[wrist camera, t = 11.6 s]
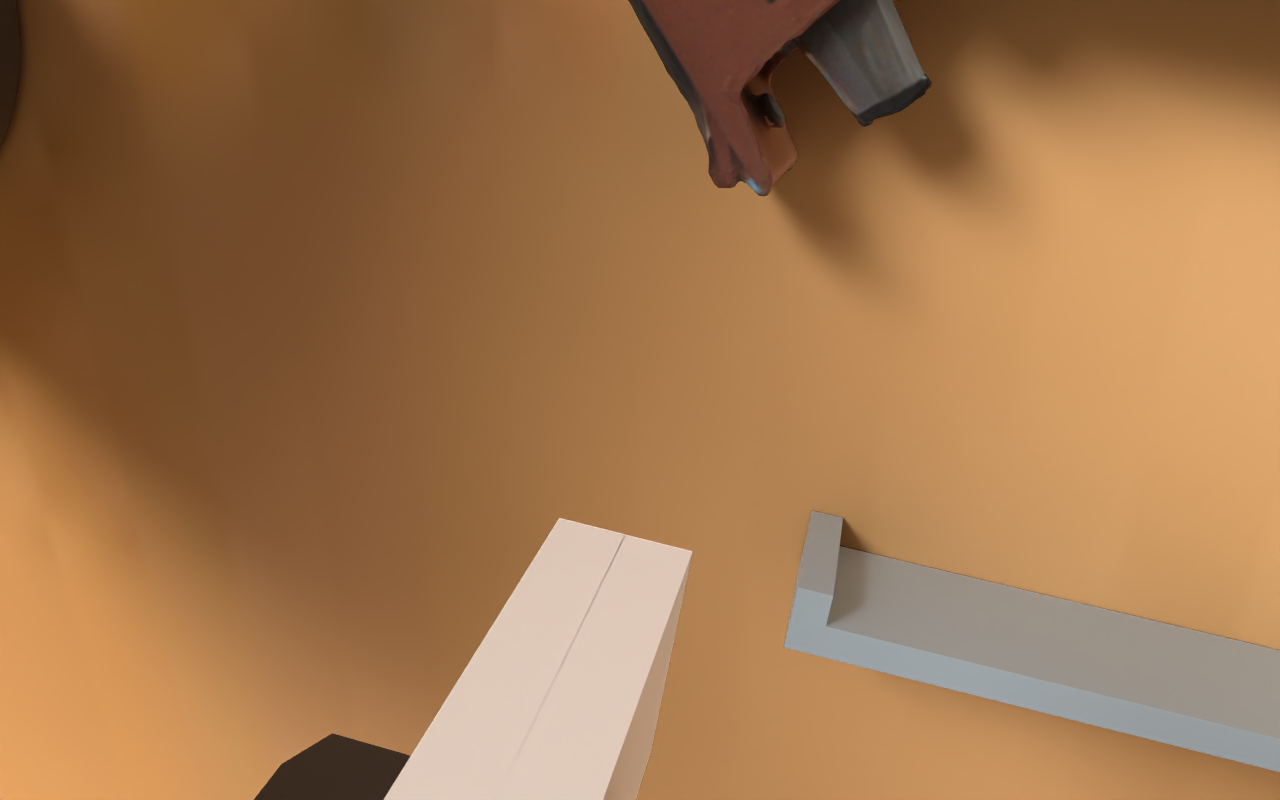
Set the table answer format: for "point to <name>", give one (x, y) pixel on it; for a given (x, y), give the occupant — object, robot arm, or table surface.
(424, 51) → the table surface
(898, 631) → the walled box
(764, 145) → the electronic device
